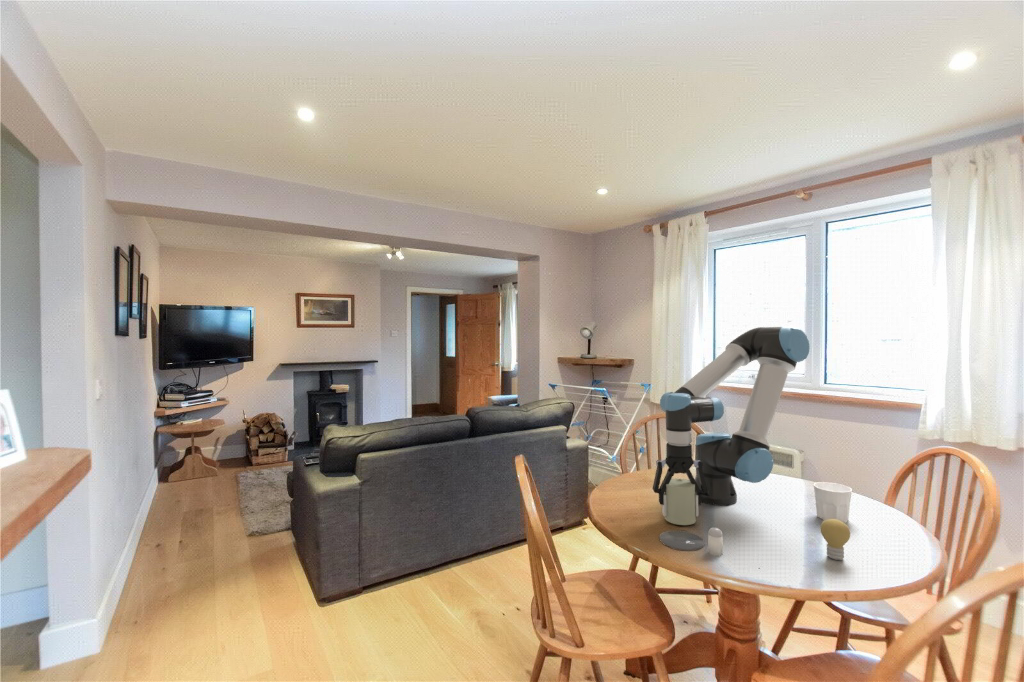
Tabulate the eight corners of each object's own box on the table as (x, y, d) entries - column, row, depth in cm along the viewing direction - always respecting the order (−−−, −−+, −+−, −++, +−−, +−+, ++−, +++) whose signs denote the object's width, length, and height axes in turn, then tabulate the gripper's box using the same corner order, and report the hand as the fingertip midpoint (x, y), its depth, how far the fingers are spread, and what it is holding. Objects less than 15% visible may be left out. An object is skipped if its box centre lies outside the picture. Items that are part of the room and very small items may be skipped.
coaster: (696, 532, 140) (696, 530, 140) (710, 551, 128) (710, 549, 128) (655, 531, 141) (655, 529, 141) (665, 550, 129) (665, 547, 129)
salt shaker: (719, 550, 129) (719, 525, 129) (724, 556, 125) (724, 530, 125) (706, 549, 129) (706, 525, 129) (710, 556, 126) (710, 530, 126)
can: (695, 515, 152) (694, 478, 151) (696, 526, 143) (695, 487, 143) (665, 512, 155) (664, 475, 154) (664, 523, 146) (663, 484, 146)
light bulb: (814, 553, 127) (814, 515, 127) (837, 551, 127) (837, 514, 127) (833, 564, 120) (832, 525, 120) (856, 563, 121) (856, 524, 121)
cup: (854, 517, 151) (854, 486, 151) (849, 527, 143) (849, 494, 143) (817, 509, 158) (817, 480, 157) (810, 518, 150) (810, 487, 150)
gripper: (710, 440, 151) (711, 510, 152) (641, 440, 153) (642, 509, 153) (718, 445, 144) (720, 519, 144) (645, 446, 146) (647, 519, 146)
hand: (680, 514), depth 149 cm, fingers closed on can, 9 cm apart
